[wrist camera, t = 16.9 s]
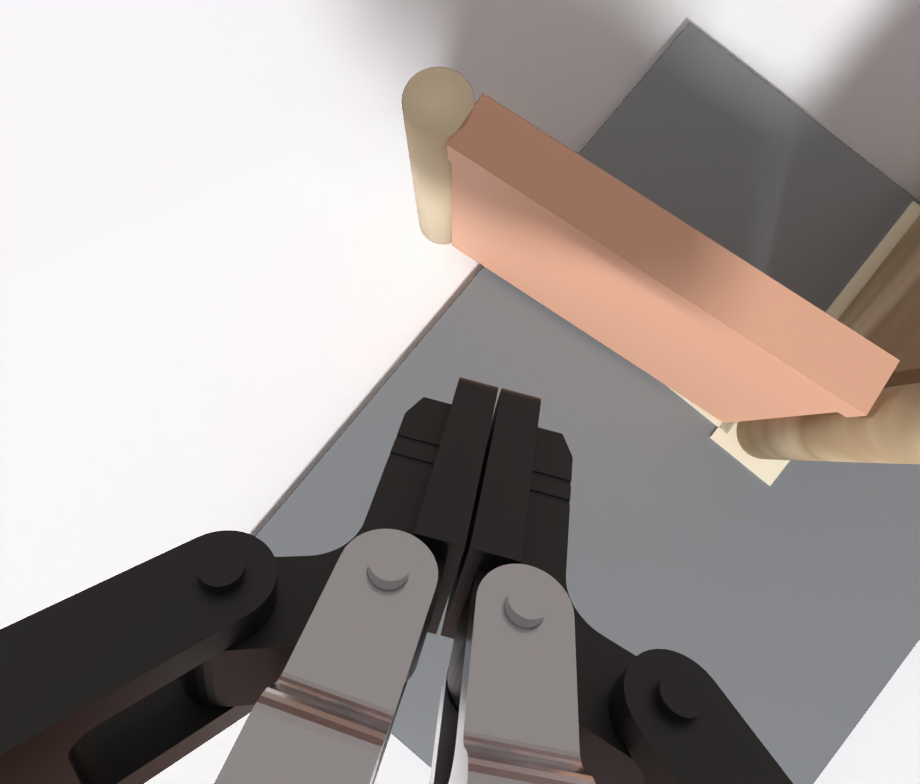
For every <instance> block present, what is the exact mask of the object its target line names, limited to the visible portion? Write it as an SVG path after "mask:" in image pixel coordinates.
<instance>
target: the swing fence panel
mask: <svg viewBox="0 0 920 784" xmlns="http://www.w3.org/2000/svg"><path fill="white" fill-rule="evenodd" d="M474 105H475V106H474ZM402 109H403V116H404V123H405V130H406V137H407V143H408V150H409V157H410V164H411V170H412V177H413V184H414V191H415V198H416V204H417V211H418V218H419V225H420V229H421V231H422V233H423V234H424V236H425V237H426V238H427V239H429V240H430V241H432V242H434V243H437V244H449V243H452V246H454V247H455V248H457V249H458V250H460V251H461V252H463V253H464V254H466V255H467V256H469V257H470V258H472V259H473V260H475V261H476V262H478V263H480V264H481V265H483V266H484V267H486V268H487V269H489V270H490V271H492V272H493V273H495V274H496V275H498V276H499V277H501V278H503V279H504V280H506V281H507V282H509V283H510V284H512V285H513V286H515V287H516V288H518V289H519V290H521V291H522V292H524V293H525V294H527V295H529V296H530V297H532V298H533V299H535V300H536V301H538V302H539V303H541V304H542V305H544V306H545V307H547V308H548V309H550V310H551V311H553V312H555V313H556V314H558V315H559V316H561V317H562V318H564V319H565V320H567V321H568V322H570V323H571V324H573V325H574V326H576V327H578V328H579V329H581V330H582V331H584V332H585V333H587V334H588V335H590V336H591V337H593V338H594V339H596V340H597V341H599V342H600V343H602V344H604V345H605V346H607V347H608V348H610V349H611V350H613V351H614V352H616V353H617V354H619V355H620V356H622V357H623V358H625V359H627V360H628V361H630V362H631V363H633V364H634V365H636V366H637V367H639V368H640V369H642V370H643V371H645V372H646V373H648V374H649V375H651V376H653V377H654V378H656V379H657V380H659V381H660V382H662V383H663V384H665V385H666V386H668V387H669V388H671V389H672V390H674V391H676V392H677V393H679V394H680V395H682V396H683V397H685V398H686V399H688V400H689V401H691V402H692V403H694V404H695V405H697V406H698V407H700V408H702V409H703V410H705V411H706V412H708V413H709V414H711V415H712V416H714V417H715V418H717V419H718V420H720V421H721V422H723V423H730V422H740V421H751V420H761V419H771V418H782V417H792V416H802V415H813V414H823V413H833V412H838V413H840V414H842V415H843V416H845V417H858V416H867V414H868V412H869V411H870V409H871V407H872V406H873V404H874V403H875V401H876V399H877V398H878V396H879V394H880V393H881V391H882V389H883V388H884V386H885V384H886V383H887V381H888V379H889V378H890V376H891V374H892V373H893V371H894V370H895V368H896V366H897V365H898V363H899V361H900V360H899V359H897V358H895V357H894V356H892V355H891V354H889V353H888V352H886V351H885V350H883V349H881V348H880V347H878V346H877V345H875V344H874V343H872V342H871V341H869V340H867V339H866V338H864V337H863V336H861V335H860V334H858V333H856V332H855V331H853V330H852V329H850V328H849V327H847V326H846V325H844V324H842V323H841V322H839V321H838V320H836V319H835V318H833V317H831V316H830V315H828V314H827V313H825V312H824V311H822V310H821V309H819V308H817V307H816V306H814V305H813V304H811V303H810V302H808V301H807V300H805V299H803V298H802V297H800V296H799V295H797V294H796V293H794V292H792V291H791V290H789V289H788V288H786V287H785V286H783V285H782V284H780V283H778V282H777V281H775V280H774V279H772V278H771V277H769V276H767V275H766V274H764V273H763V272H761V271H760V270H758V269H757V268H755V267H753V266H752V265H750V264H749V263H747V262H746V261H744V260H743V259H741V258H739V257H738V256H736V255H735V254H733V253H732V252H730V251H728V250H727V249H725V248H724V247H722V246H721V245H719V244H718V243H716V242H714V241H713V240H711V239H710V238H708V237H707V236H705V235H703V234H702V233H700V232H699V231H697V230H696V229H694V228H693V227H691V226H689V225H688V224H686V223H685V222H683V221H682V220H680V219H679V218H677V217H675V216H674V215H672V214H671V213H669V212H668V211H666V210H664V209H663V208H661V207H660V206H658V205H657V204H655V203H654V202H652V201H650V200H649V199H647V198H646V197H644V196H643V195H641V194H639V193H638V192H636V191H635V190H633V189H632V188H630V187H629V186H627V185H625V184H624V183H622V182H621V181H619V180H618V179H616V178H615V177H613V176H611V175H610V174H608V173H607V172H605V171H604V170H602V169H600V168H599V167H597V166H596V165H594V164H593V163H591V162H590V161H588V160H586V159H585V158H583V157H582V156H580V155H579V154H577V153H575V152H574V151H572V150H571V149H569V148H568V147H566V146H565V145H563V144H561V143H560V142H558V141H557V140H555V139H554V138H552V137H551V136H549V135H547V134H546V133H544V132H543V131H541V130H540V129H538V128H536V127H535V126H533V125H532V124H530V123H529V122H527V121H526V120H524V119H522V118H521V117H519V116H518V115H516V114H515V113H513V112H512V111H510V110H508V109H507V108H505V107H504V106H502V105H501V104H499V103H497V102H496V101H494V100H493V99H491V98H490V97H488V96H487V95H485V94H482V96H481V97H480V98H479V100H478V101H477V103H476V104H475V99H474V94H473V90H472V88H471V86H470V84H469V83H468V81H467V80H466V79H465V78H464V77H463V76H462V75H461V74H459V73H458V72H456V71H454V70H452V69H449V68H444V67H432V68H427V69H425V70H422V71H420V72H418V73H417V74H415V75H414V76H413V77H412V78H411V79H410V80H409V81H408V83H407V85H406V86H405V88H404V91H403V94H402Z"/></svg>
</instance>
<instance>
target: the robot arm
mask: <svg viewBox="0 0 920 784" xmlns="http://www.w3.org/2000/svg"><path fill="white" fill-rule="evenodd" d="M497 393H498V387H496V386H492V385H488V384H484V383H481V382H477V381H473V380H469V379H466V378H462V377H460V378H459V381H458V384H457V388H456V391H455V394H454V398H453V401H452V404H449V403H445V402H441V401H437V400H434V399H430V398H426V397H423V398H422V399H421V400H420V401H418V402H417V403H416V404H415V405H414V406H412V407H411V408H410V409H409V410H408V411H407V412H405V415H404V417H403V420H402V423H401V425H400V428H399V431H398V433H397V437H396V439H395V441H394V444H393V447H392V449H391V452H390V456H389V457H388V460H387V463H386V465H385V468H384V471H383V473H382V476H381V479H380V481H379V484H378V486H377V489H376V492H375V494H374V497H373V500H372V502H371V505H370V508H369V510H368V513H367V516H366V518H365V521H364V523H363V525H362V527H361V529H360V530H359V532H358V533H357V534H356V535H355V536H354V537H353V538H352V539H351V540H350V541H349V542H348V543H346V544H345V545H343V546H341V547H340V548H338V549H336V550H333V551H330V552H328V553H324V554H319V555H311V556H286V557H274V555H273V553H272V551H271V550H270V548H269V547H268V546H267V545H266V544H265V543H264V542H262V541H261V540H260V539H258V538H256V537H254V536H253V535H250V534H247V533H244V532H239V531H217V532H212V533H208V534H205V535H202V536H200V537H197V538H195V539H193V540H191V541H189V542H186V543H184V544H182V545H180V546H178V547H176V548H174V549H172V550H169V551H167V552H165V553H163V554H161V555H159V556H157V557H154V558H152V559H150V560H148V561H146V562H144V563H142V564H140V565H137V566H135V567H133V568H131V569H129V570H127V571H125V572H122V573H120V574H118V575H116V576H114V577H112V578H110V579H108V580H105V581H103V582H101V583H99V584H97V585H95V586H93V587H90V588H88V589H86V590H84V591H82V592H80V593H78V594H75V595H73V596H71V597H69V598H67V599H65V600H63V601H61V602H58V603H56V604H54V605H52V606H50V607H48V608H46V609H43V610H41V611H39V612H37V613H35V614H33V615H31V616H29V617H26V618H24V619H22V620H20V621H18V622H16V623H14V624H11V625H9V626H7V627H5V628H3V629H1V630H0V784H144V783H145V782H147V781H148V780H150V779H151V778H153V777H154V776H156V775H157V774H159V773H160V772H162V771H163V770H165V769H166V768H168V767H169V766H171V765H172V764H174V763H175V762H177V761H178V760H180V759H181V758H183V757H184V756H186V755H187V754H189V753H190V752H192V751H193V750H195V749H196V748H198V747H199V746H201V745H202V744H204V743H205V742H207V741H208V740H210V739H211V738H213V737H214V736H216V735H217V734H219V733H220V732H222V731H223V730H225V729H226V728H227V727H229V726H230V725H232V724H233V723H235V722H236V721H238V720H239V719H241V718H242V717H244V716H245V715H247V714H248V713H250V712H251V713H250V715H249V717H248V718H247V720H246V722H245V724H244V726H243V728H242V730H241V732H240V734H239V736H238V738H237V740H236V742H235V744H234V746H233V748H232V750H231V752H230V754H229V756H228V758H227V760H226V762H225V764H224V766H223V768H222V770H221V771H220V773H219V775H218V777H217V779H216V781H215V783H214V784H374V782H375V779H376V776H377V773H378V770H379V767H380V764H381V761H382V758H383V755H384V752H385V749H386V746H387V743H388V740H389V737H390V734H391V731H392V728H393V725H394V722H395V719H396V716H397V713H398V710H399V706H400V703H401V700H402V697H403V694H404V691H405V688H406V685H407V682H408V680H409V679H410V677H411V676H412V675H413V673H414V671H415V669H416V667H417V664H418V661H419V658H420V654H421V651H422V648H423V645H424V641H425V638H426V635H427V632H429V633H433V634H437V631H438V628H439V625H440V621H441V618H442V615H443V612H444V609H445V606H446V603H447V600H448V603H447V607H446V612H445V617H444V621H443V626H442V630H441V636H445V637H448V638H452V639H454V642H453V647H452V652H451V657H450V662H449V667H448V670H447V672H446V675H445V678H444V680H443V684H442V688H441V695H440V703H439V711H438V719H437V727H436V735H435V743H434V751H433V759H432V767H431V775H430V783H429V784H793V783H792V781H791V780H790V779H789V777H788V776H787V775H786V774H785V772H784V771H783V770H782V768H781V767H780V766H779V764H778V763H777V762H776V761H775V759H774V758H773V757H772V755H771V754H770V753H769V751H768V750H767V749H766V747H765V746H764V745H763V744H762V742H761V741H760V740H759V738H758V737H757V736H756V734H755V733H754V732H753V730H752V729H751V728H750V727H749V725H748V724H747V723H746V721H745V720H744V719H743V717H742V716H741V715H740V713H739V712H738V711H737V710H736V708H735V707H734V706H733V704H732V703H731V702H730V700H729V699H728V698H727V697H726V695H725V694H724V693H723V691H722V690H721V689H720V687H719V686H718V685H717V683H716V682H715V681H714V680H713V678H712V677H711V676H710V675H709V674H708V673H707V672H706V671H705V670H704V669H703V668H702V667H701V666H700V665H699V664H697V663H696V662H695V661H693V660H692V659H690V658H688V657H686V656H685V655H683V654H680V653H678V652H675V651H671V650H667V649H651V650H647V651H644V652H642V653H640V654H639V655H637V656H636V655H634V654H632V653H631V652H629V651H627V650H626V649H624V648H623V647H621V646H619V645H618V644H616V643H614V642H613V641H611V640H609V639H608V638H606V637H605V636H603V635H602V634H600V633H599V632H597V631H596V630H594V629H593V628H592V627H591V626H590V625H589V624H588V623H587V622H586V621H585V620H584V619H583V618H582V617H581V616H580V614H579V613H578V611H577V610H576V608H575V607H574V605H573V603H572V601H571V599H570V596H569V593H568V590H567V585H566V566H567V549H568V532H569V514H570V505H569V502H570V497H571V485H570V484H571V480H572V462H573V457H572V454H571V452H570V450H569V447H568V445H567V443H566V441H565V438H564V436H563V434H562V433H558V432H554V431H550V430H547V429H543V428H539V427H538V422H539V414H540V406H541V398H538V397H534V396H530V395H526V394H523V393H519V392H515V391H511V390H508V389H504V388H501V391H500V394H499V397H498V400H497V403H496V407H495V402H496V398H497ZM494 407H495V410H494ZM493 412H494V413H493ZM448 597H449V598H448Z"/></svg>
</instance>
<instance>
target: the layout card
mask: <svg viewBox="0 0 920 784" xmlns="http://www.w3.org/2000/svg"><path fill="white" fill-rule="evenodd" d="M579 155H580V156H582V157H583V158H585V159H586V160H588V161H590V162H591V163H593V164H594V165H596V166H597V167H599V168H600V169H602V170H604V171H605V172H607V173H608V174H610V175H611V176H613V177H615V178H616V179H618V180H619V181H621V182H622V183H624V184H625V185H627V186H629V187H630V188H632V189H633V190H635V191H636V192H638V193H639V194H641V195H643V196H644V197H646V198H647V199H649V200H650V201H652V202H654V203H655V204H657V205H658V206H660V207H661V208H663V209H664V210H666V211H668V212H669V213H671V214H672V215H674V216H675V217H677V218H679V219H680V220H682V221H683V222H685V223H686V224H688V225H689V226H691V227H693V228H694V229H696V230H697V231H699V232H700V233H702V234H703V235H705V236H707V237H708V238H710V239H711V240H713V241H714V242H716V243H718V244H719V245H721V246H722V247H724V248H725V249H727V250H728V251H730V252H732V253H733V254H735V255H736V256H738V257H739V258H741V259H743V260H744V261H746V262H747V263H749V264H750V265H752V266H753V267H755V268H757V269H758V270H760V271H761V272H763V273H764V274H766V275H767V276H769V277H771V278H772V279H774V280H775V281H777V282H778V283H780V284H782V285H783V286H785V287H786V288H788V289H789V290H791V291H792V292H794V293H796V294H797V295H799V296H800V297H802V298H803V299H805V300H807V301H808V302H810V303H811V304H813V305H814V306H816V307H817V308H819V309H821V310H822V311H824V312H825V313H827V314H828V315H830V316H831V317H833V318H835V319H836V320H838V319H839V317H840V316H841V315H842V313H843V312H844V311H845V310H846V308H847V307H848V306H849V305H850V303H851V302H852V301H853V299H854V298H855V297H856V296H857V294H858V293H859V292H860V291H861V289H862V288H863V287H864V285H865V284H866V283H867V282H868V280H869V279H870V278H871V276H872V275H873V274H874V273H875V271H876V270H877V269H878V268H879V266H880V265H881V264H882V262H883V261H884V260H885V259H886V257H887V256H888V255H889V254H890V252H891V251H892V250H893V248H894V247H895V246H896V245H897V243H898V242H899V241H900V239H901V238H902V237H903V236H904V234H905V233H906V232H907V231H908V229H909V228H910V227H911V225H912V224H913V223H914V222H915V220H916V219H917V218H918V217H919V215H920V202H919V201H918V200H917V199H915V198H914V197H913V196H912V195H910V194H909V193H908V192H906V191H905V190H904V189H903V188H901V187H900V186H899V185H897V184H896V183H895V182H893V181H892V180H891V179H890V178H888V177H887V176H886V175H884V174H883V173H882V172H881V171H879V170H878V169H877V168H875V167H874V166H873V165H872V164H870V163H869V162H868V161H866V160H865V159H864V158H863V157H861V156H860V155H859V154H857V153H856V152H855V151H853V150H852V149H851V148H850V147H848V146H847V145H846V144H844V143H843V142H842V141H841V140H839V139H838V138H837V137H835V136H834V135H833V134H832V133H830V132H829V131H828V130H826V129H825V128H824V127H822V126H821V125H820V124H819V123H817V122H816V121H815V120H813V119H812V118H811V117H810V116H808V115H807V114H806V113H804V112H803V111H802V110H801V109H799V108H798V107H797V106H795V105H794V104H793V103H791V102H790V101H789V100H788V99H786V98H785V97H784V96H782V95H781V94H780V93H779V92H777V91H776V90H775V89H773V88H772V87H771V86H770V85H768V84H767V83H766V82H764V81H763V80H762V79H761V78H759V77H758V76H757V75H755V74H754V73H753V72H751V71H750V70H749V69H748V68H746V67H745V66H744V65H742V64H741V63H740V62H739V61H737V60H736V59H735V58H733V57H732V56H731V55H730V54H728V53H727V52H726V51H724V50H723V49H722V48H720V47H719V46H718V45H717V44H715V43H714V42H713V41H711V40H710V39H709V38H708V37H706V36H705V35H704V34H702V33H701V32H700V31H699V30H697V29H696V28H695V27H693V26H692V25H691V24H688V25H687V26H686V28H685V29H684V30H683V31H682V32H681V34H680V35H679V36H678V37H677V38H676V39H675V41H674V42H673V43H672V44H671V45H670V47H669V48H668V49H667V50H666V51H665V52H664V54H663V55H662V56H661V57H660V58H659V60H658V61H657V62H656V63H655V64H654V65H653V67H652V68H651V69H650V70H649V71H648V73H647V74H646V75H645V76H644V77H643V78H642V80H641V81H640V82H639V83H638V84H637V86H636V87H635V88H634V89H633V90H632V92H631V93H630V94H629V95H628V96H627V97H626V99H625V100H624V101H623V102H622V103H621V105H620V106H619V107H618V108H617V109H616V110H615V112H614V113H613V114H612V115H611V116H610V118H609V119H608V120H607V121H606V122H605V123H604V125H603V126H602V127H601V128H600V129H599V131H598V132H597V133H596V134H595V135H594V136H593V138H592V139H591V140H590V141H589V142H588V144H587V145H586V146H585V147H584V148H583V149H582V151H581V152H580V153H579ZM460 377H462V378H466V379H469V380H473V381H477V382H481V383H484V384H488V385H492V386H496V387H498V393H497V398H496V402H495V407H496V403H497V400H498V397H499V394H500V391H501V388H504V389H508V390H511V391H515V392H519V393H523V394H526V395H530V396H534V397H538V398H541V406H540V414H539V422H538V427H539V428H543V429H547V430H550V431H554V432H558V433H562V434H563V436H564V438H565V441H566V443H567V445H568V447H569V450H570V452H571V454H572V457H573V462H572V480H571V484H570V485H571V497H570V502H569V505H570V514H569V532H568V549H567V566H566V585H567V590H568V593H569V596H570V599H571V601H572V603H573V605H574V607H575V608H576V610H577V611H578V613H579V614H580V616H581V617H582V618H583V619H584V620H585V621H586V622H587V623H588V624H589V625H590V626H591V627H592V628H593V629H594V630H596V631H597V632H599V633H600V634H602V635H603V636H605V637H606V638H608V639H609V640H611V641H613V642H614V643H616V644H618V645H619V646H621V647H623V648H624V649H626V650H627V651H629V652H631V653H632V654H634V655H636V656H637V655H639V654H640V653H642V652H644V651H647V650H651V649H667V650H671V651H675V652H678V653H680V654H683V655H685V656H686V657H688V658H690V659H692V660H693V661H695V662H696V663H697V664H699V665H700V666H701V667H702V668H703V669H704V670H705V671H706V672H707V673H708V674H709V675H710V676H711V677H712V678H713V680H714V681H715V682H716V683H717V685H718V686H719V687H720V689H721V690H722V691H723V693H724V694H725V695H726V697H727V698H728V699H729V700H730V702H731V703H732V704H733V706H734V707H735V708H736V710H737V711H738V712H739V713H740V715H741V716H742V717H743V719H744V720H745V721H746V723H747V724H748V725H749V727H750V728H751V729H752V730H753V732H754V733H755V734H756V736H757V737H758V738H759V740H760V741H761V742H762V744H763V745H764V746H765V747H766V749H767V750H768V751H769V753H770V754H771V755H772V757H773V758H774V759H775V761H776V762H777V763H778V764H779V766H780V767H781V768H782V770H783V771H784V772H785V774H786V775H787V776H788V777H789V779H790V780H791V781H792V783H793V784H813V783H814V782H815V781H816V779H817V778H818V777H819V775H820V774H821V773H822V771H823V770H824V768H825V767H826V766H827V764H828V763H829V762H830V760H831V759H832V758H833V756H834V755H835V753H836V752H837V751H838V749H839V748H840V747H841V745H842V744H843V743H844V741H845V740H846V739H847V737H848V736H849V734H850V733H851V732H852V730H853V729H854V728H855V726H856V725H857V724H858V722H859V721H860V719H861V718H862V717H863V715H864V714H865V713H866V711H867V710H868V709H869V707H870V706H871V705H872V703H873V702H874V700H875V699H876V698H877V696H878V695H879V694H880V692H881V691H882V690H883V688H884V687H885V686H886V684H887V683H888V681H889V680H890V679H891V677H892V676H893V675H894V673H895V672H896V671H897V669H898V668H899V666H900V665H901V664H902V662H903V661H904V660H905V658H906V657H907V656H908V654H909V653H910V652H911V650H912V649H913V647H914V646H915V645H916V643H917V642H918V641H919V639H920V464H892V463H861V462H830V461H799V460H768V459H758V458H755V457H752V456H750V455H749V454H747V453H746V452H745V451H744V450H743V449H742V447H741V446H740V444H739V442H738V439H737V433H736V429H737V424H738V422H730V423H723V422H721V421H720V420H718V419H717V418H715V417H714V416H712V415H711V414H709V413H708V412H706V411H705V410H703V409H702V408H700V407H698V406H697V405H695V404H694V403H692V402H691V401H689V400H688V399H686V398H685V397H683V396H682V395H680V394H679V393H677V392H676V391H674V390H672V389H671V388H669V387H668V386H666V385H665V384H663V383H662V382H660V381H659V380H657V379H656V378H654V377H653V376H651V375H649V374H648V373H646V372H645V371H643V370H642V369H640V368H639V367H637V366H636V365H634V364H633V363H631V362H630V361H628V360H627V359H625V358H623V357H622V356H620V355H619V354H617V353H616V352H614V351H613V350H611V349H610V348H608V347H607V346H605V345H604V344H602V343H600V342H599V341H597V340H596V339H594V338H593V337H591V336H590V335H588V334H587V333H585V332H584V331H582V330H581V329H579V328H578V327H576V326H574V325H573V324H571V323H570V322H568V321H567V320H565V319H564V318H562V317H561V316H559V315H558V314H556V313H555V312H553V311H551V310H550V309H548V308H547V307H545V306H544V305H542V304H541V303H539V302H538V301H536V300H535V299H533V298H532V297H530V296H529V295H527V294H525V293H524V292H522V291H521V290H519V289H518V288H516V287H515V286H513V285H512V284H510V283H509V282H507V281H506V280H504V279H503V278H501V277H499V276H498V275H496V274H495V273H493V272H492V271H490V270H489V269H487V268H486V267H483V268H482V269H481V270H480V271H479V273H478V274H477V275H476V276H475V277H474V278H473V280H472V281H471V282H470V283H469V284H468V286H467V287H466V288H465V289H464V290H463V292H462V293H461V294H460V295H459V296H458V297H457V299H456V300H455V301H454V302H453V303H452V305H451V306H450V307H449V308H448V309H447V310H446V312H445V313H444V314H443V315H442V316H441V318H440V319H439V320H438V321H437V322H436V323H435V325H434V326H433V327H432V328H431V329H430V331H429V332H428V333H427V334H426V335H425V336H424V338H423V339H422V340H421V341H420V342H419V344H418V345H417V346H416V347H415V348H414V349H413V351H412V352H411V353H410V354H409V355H408V357H407V358H406V359H405V360H404V361H403V363H402V364H401V365H400V366H399V367H398V368H397V370H396V371H395V372H394V373H393V374H392V376H391V377H390V378H389V379H388V380H387V381H386V383H385V384H384V385H383V386H382V387H381V389H380V390H379V391H378V392H377V393H376V394H375V396H374V397H373V398H372V399H371V400H370V402H369V403H368V404H367V405H366V406H365V407H364V409H363V410H362V411H361V412H360V413H359V415H358V416H357V417H356V418H355V419H354V420H353V422H352V423H351V424H350V425H349V426H348V428H347V429H346V430H345V431H344V432H343V434H342V435H341V436H340V437H339V438H338V439H337V441H336V442H335V443H334V444H333V445H332V447H331V448H330V449H329V450H328V451H327V452H326V454H325V455H324V456H323V457H322V458H321V460H320V461H319V462H318V463H317V464H316V465H315V467H314V468H313V469H312V470H311V471H310V473H309V474H308V475H307V476H306V477H305V478H304V480H303V481H302V482H301V483H300V484H299V486H298V487H297V488H296V489H295V490H294V492H293V493H292V494H291V495H290V496H289V497H288V499H287V500H286V501H285V502H284V503H283V505H282V506H281V507H280V508H279V509H278V510H277V512H276V513H275V514H274V515H273V516H272V518H271V519H270V520H269V521H268V522H267V523H266V525H265V526H264V527H263V528H262V529H261V531H260V532H259V533H258V534H257V535H256V536H255V537H256V538H258V539H260V540H261V541H262V542H264V543H265V544H266V545H267V546H268V547H269V548H270V550H271V551H272V553H273V555H274V557H286V556H311V555H319V554H324V553H328V552H330V551H333V550H336V549H338V548H340V547H341V546H343V545H345V544H346V543H348V542H349V541H350V540H351V539H352V538H353V537H354V536H355V535H356V534H357V533H358V532H359V530H360V529H361V527H362V525H363V523H364V521H365V518H366V516H367V513H368V510H369V508H370V505H371V502H372V500H373V497H374V494H375V492H376V489H377V486H378V484H379V481H380V479H381V476H382V473H383V471H384V468H385V465H386V463H387V460H388V457H389V456H390V452H391V449H392V447H393V444H394V441H395V439H396V437H397V433H398V431H399V428H400V425H401V423H402V420H403V417H404V415H405V412H407V411H408V410H409V409H410V408H411V407H412V406H414V405H415V404H416V403H417V402H418V401H420V400H421V399H422V398H423V397H426V398H430V399H434V400H437V401H441V402H445V403H449V404H452V401H453V398H454V394H455V391H456V388H457V384H458V381H459V378H460ZM495 407H494V410H495ZM493 413H494V412H493ZM448 598H449V597H448ZM447 603H448V600H447ZM447 603H446V606H445V609H444V612H443V615H442V618H441V621H440V625H439V628H438V631H437V634H433V633H429V632H427V635H426V638H425V641H424V645H423V648H422V651H421V654H420V658H419V661H418V664H417V667H416V669H415V671H414V673H413V675H412V676H411V677H410V679H409V680H408V682H407V685H406V688H405V691H404V694H403V697H402V700H401V703H400V706H399V710H398V713H397V716H396V719H395V722H394V725H393V728H392V731H391V734H393V735H394V736H395V737H396V738H397V739H398V740H400V741H401V742H402V743H403V744H404V745H405V746H407V747H408V748H409V749H410V750H411V751H412V752H413V753H415V754H416V755H417V756H418V757H419V758H420V759H422V760H423V761H424V762H425V763H426V764H427V765H428V766H430V767H432V759H433V751H434V743H435V735H436V727H437V719H438V711H439V703H440V695H441V688H442V684H443V680H444V678H445V675H446V672H447V670H448V667H449V662H450V657H451V652H452V647H453V642H454V639H452V638H448V637H445V636H441V630H442V626H443V621H444V617H445V612H446V607H447Z"/></svg>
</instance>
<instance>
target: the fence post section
mask: <svg viewBox="0 0 920 784" xmlns="http://www.w3.org/2000/svg"><path fill="white" fill-rule="evenodd" d="M838 321H839V322H841V323H842V324H844V325H846V326H847V327H849V328H850V329H852V330H853V331H855V332H856V333H858V334H860V335H861V336H863V337H864V338H866V339H867V340H869V341H871V342H872V343H874V344H875V345H877V346H878V347H880V348H881V349H883V350H885V351H886V352H888V353H889V354H891V355H892V356H894V357H895V358H897V359H899V360H900V361H899V363H898V365H897V366H896V368H895V370H894V371H893V373H892V374H891V376H890V378H889V379H888V381H887V383H886V384H885V386H884V388H883V389H882V391H881V393H880V394H879V396H878V398H877V399H876V401H875V403H874V404H873V406H872V407H871V409H870V411H869V412H868V414H867V416H858V417H845V416H843V415H842V414H840V413H838V412H833V413H823V414H813V415H802V416H792V417H782V418H771V419H761V420H751V421H740V422H738V424H737V429H736V433H737V439H738V442H739V444H740V446H741V447H742V449H743V450H744V451H745V452H746V453H747V454H749V455H750V456H752V457H755V458H758V459H768V460H799V461H830V462H861V463H892V464H920V215H919V217H918V218H917V219H916V220H915V222H914V223H913V224H912V225H911V227H910V228H909V229H908V231H907V232H906V233H905V234H904V236H903V237H902V238H901V239H900V241H899V242H898V243H897V245H896V246H895V247H894V248H893V250H892V251H891V252H890V254H889V255H888V256H887V257H886V259H885V260H884V261H883V262H882V264H881V265H880V266H879V268H878V269H877V270H876V271H875V273H874V274H873V275H872V276H871V278H870V279H869V280H868V282H867V283H866V284H865V285H864V287H863V288H862V289H861V291H860V292H859V293H858V294H857V296H856V297H855V298H854V299H853V301H852V302H851V303H850V305H849V306H848V307H847V308H846V310H845V311H844V312H843V313H842V315H841V316H840V317H839V319H838Z"/></svg>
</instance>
